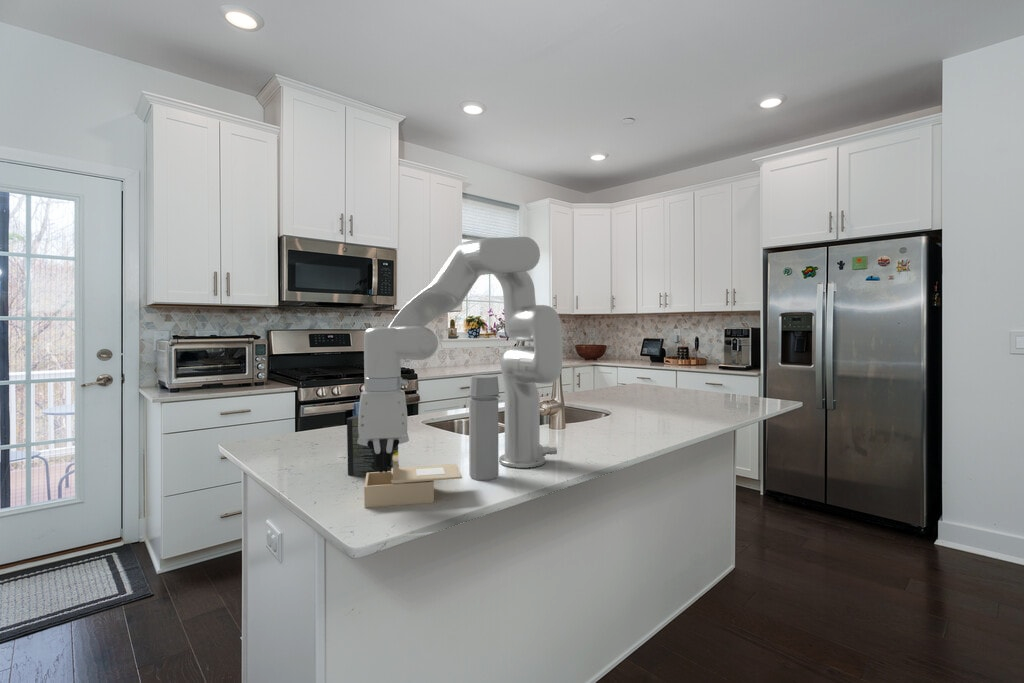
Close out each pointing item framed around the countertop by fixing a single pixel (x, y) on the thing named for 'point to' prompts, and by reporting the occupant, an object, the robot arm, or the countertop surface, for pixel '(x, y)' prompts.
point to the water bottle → (483, 427)
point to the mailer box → (395, 491)
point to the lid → (423, 472)
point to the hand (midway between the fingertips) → (383, 470)
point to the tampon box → (362, 452)
